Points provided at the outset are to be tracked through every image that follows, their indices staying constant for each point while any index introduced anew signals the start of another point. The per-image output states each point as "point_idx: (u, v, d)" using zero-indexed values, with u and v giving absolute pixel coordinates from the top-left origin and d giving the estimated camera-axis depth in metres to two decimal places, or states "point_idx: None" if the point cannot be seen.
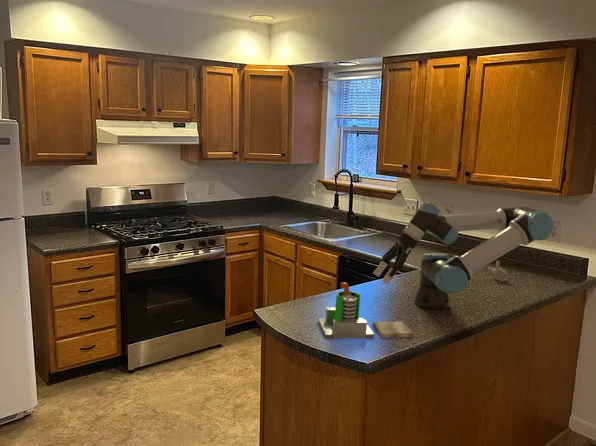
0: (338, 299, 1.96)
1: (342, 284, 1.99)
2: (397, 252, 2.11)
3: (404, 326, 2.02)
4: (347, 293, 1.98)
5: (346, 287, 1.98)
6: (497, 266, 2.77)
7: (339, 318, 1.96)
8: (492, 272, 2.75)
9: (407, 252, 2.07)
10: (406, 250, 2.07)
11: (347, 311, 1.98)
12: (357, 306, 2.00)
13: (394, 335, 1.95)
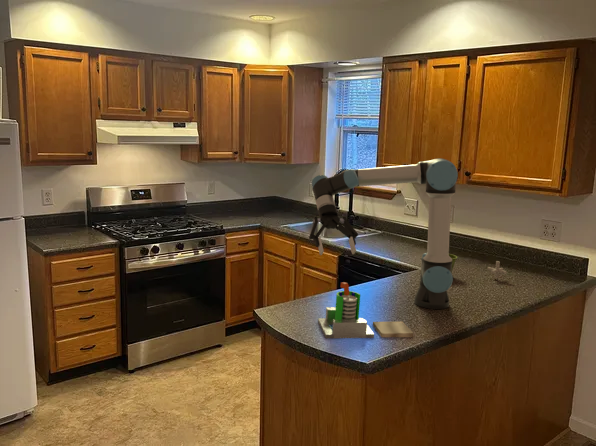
0: (338, 299, 1.96)
1: (342, 284, 1.99)
2: None
3: (404, 326, 2.02)
4: (347, 293, 1.98)
5: (346, 287, 1.98)
6: (497, 266, 2.77)
7: (339, 318, 1.96)
8: (492, 272, 2.75)
9: (314, 220, 2.11)
10: (313, 221, 2.12)
11: (347, 311, 1.98)
12: (357, 306, 2.00)
13: (394, 335, 1.95)
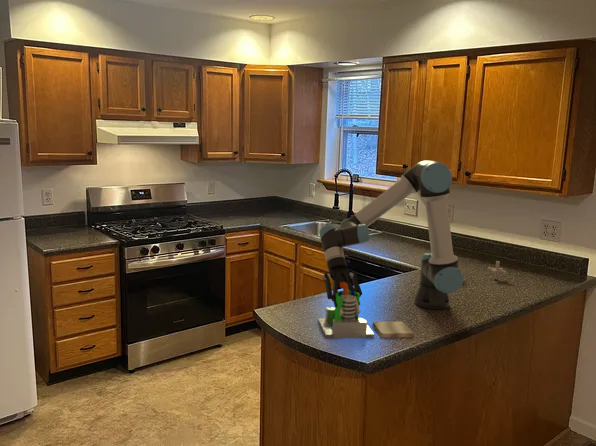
0: (337, 299, 1.95)
1: (341, 284, 1.98)
2: (334, 283, 2.04)
3: (404, 326, 2.02)
4: (346, 293, 1.98)
5: (345, 287, 1.97)
6: (497, 266, 2.77)
7: (339, 318, 1.96)
8: (492, 272, 2.75)
9: (325, 278, 2.02)
10: (324, 278, 2.03)
11: (347, 311, 1.98)
12: None
13: (394, 335, 1.95)
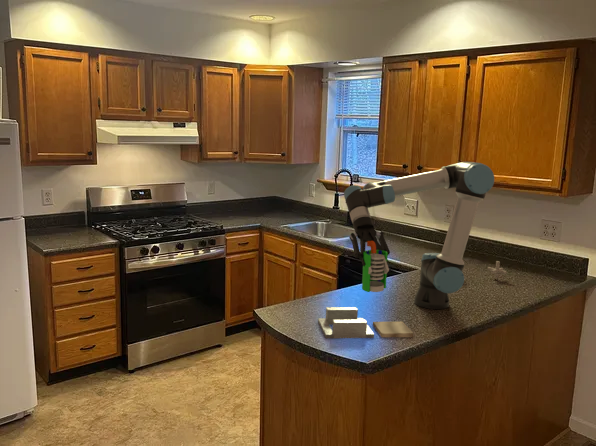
0: (365, 257, 1.93)
1: (369, 242, 1.96)
2: None
3: (404, 326, 2.02)
4: (374, 251, 1.95)
5: (373, 245, 1.95)
6: (497, 266, 2.77)
7: (367, 276, 1.93)
8: (492, 272, 2.75)
9: (352, 237, 1.99)
10: (350, 238, 2.00)
11: (375, 269, 1.95)
12: None
13: (394, 335, 1.95)
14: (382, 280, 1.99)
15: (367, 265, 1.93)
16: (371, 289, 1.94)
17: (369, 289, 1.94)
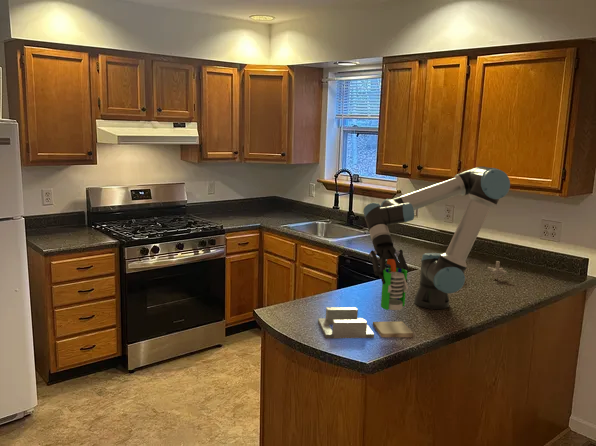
0: (385, 275, 1.94)
1: (389, 261, 1.97)
2: None
3: (404, 326, 2.02)
4: (394, 269, 1.97)
5: (393, 263, 1.96)
6: (497, 266, 2.77)
7: (387, 295, 1.95)
8: (492, 272, 2.75)
9: (371, 255, 2.01)
10: (370, 255, 2.02)
11: (394, 288, 1.97)
12: None
13: (394, 335, 1.95)
14: (401, 298, 2.01)
15: (387, 283, 1.94)
16: (390, 307, 1.96)
17: (388, 307, 1.96)
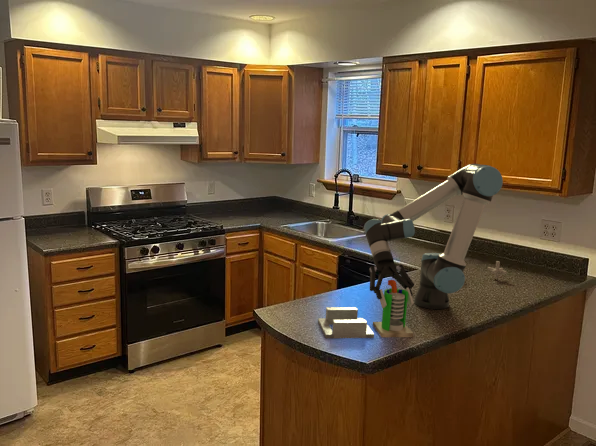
0: (386, 297, 1.96)
1: (390, 282, 1.99)
2: None
3: None
4: (395, 291, 1.98)
5: (394, 285, 1.98)
6: (497, 266, 2.77)
7: (387, 316, 1.96)
8: (492, 272, 2.75)
9: (371, 270, 2.02)
10: (370, 270, 2.03)
11: (395, 308, 1.98)
12: (404, 303, 2.00)
13: (394, 335, 1.95)
14: (401, 319, 2.02)
15: (388, 304, 1.95)
16: (391, 328, 1.97)
17: (389, 328, 1.97)
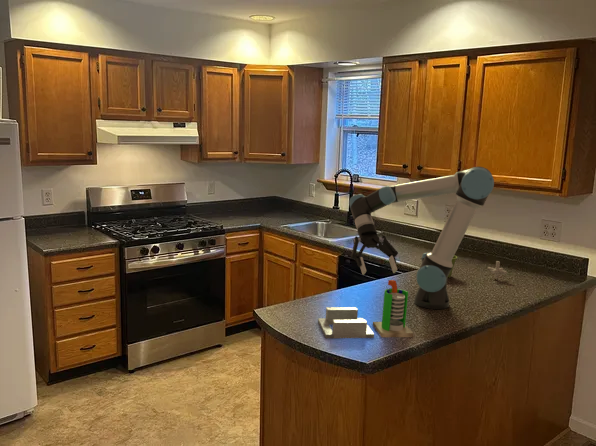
0: (387, 297, 1.96)
1: (390, 282, 1.99)
2: None
3: None
4: (395, 291, 1.98)
5: (394, 285, 1.98)
6: (497, 266, 2.77)
7: (388, 316, 1.96)
8: (492, 272, 2.75)
9: (354, 240, 2.15)
10: (354, 240, 2.15)
11: (395, 309, 1.98)
12: (405, 304, 2.00)
13: (394, 335, 1.95)
14: (401, 319, 2.02)
15: (388, 304, 1.96)
16: (391, 328, 1.97)
17: (389, 328, 1.97)
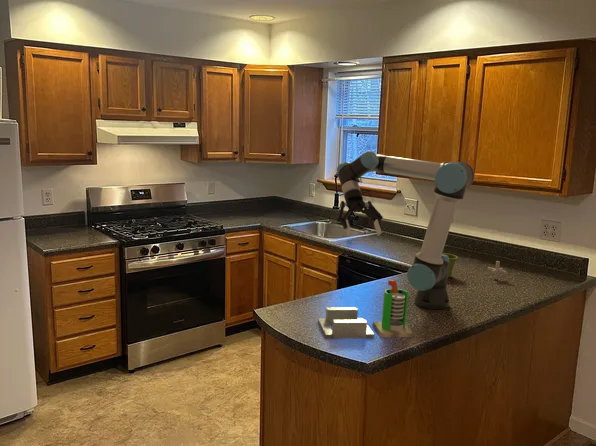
0: (387, 297, 1.96)
1: (390, 282, 1.99)
2: None
3: None
4: (395, 291, 1.98)
5: (394, 285, 1.98)
6: (497, 266, 2.77)
7: (388, 316, 1.96)
8: (492, 272, 2.75)
9: (341, 204, 2.23)
10: (340, 205, 2.24)
11: (395, 309, 1.98)
12: (405, 304, 2.00)
13: (394, 335, 1.95)
14: (401, 319, 2.02)
15: (388, 304, 1.96)
16: (391, 328, 1.97)
17: (389, 328, 1.97)
